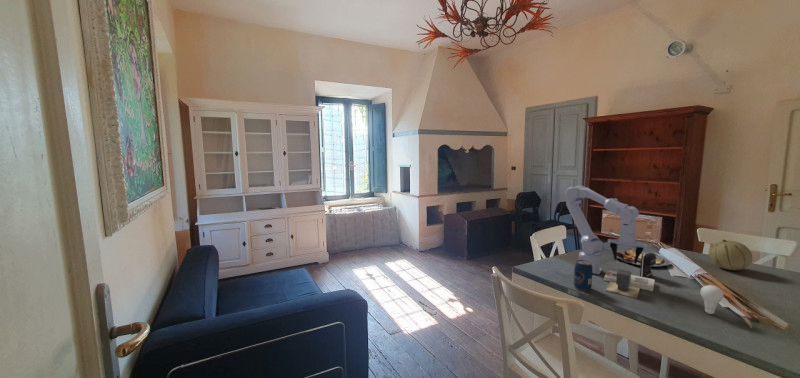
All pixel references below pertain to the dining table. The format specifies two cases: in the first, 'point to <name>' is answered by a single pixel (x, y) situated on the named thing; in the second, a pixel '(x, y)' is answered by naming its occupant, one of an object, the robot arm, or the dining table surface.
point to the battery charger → (647, 264)
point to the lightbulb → (711, 297)
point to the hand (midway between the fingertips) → (625, 261)
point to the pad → (630, 292)
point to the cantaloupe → (731, 255)
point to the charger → (623, 279)
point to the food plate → (630, 257)
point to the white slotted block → (632, 280)
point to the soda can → (583, 275)
